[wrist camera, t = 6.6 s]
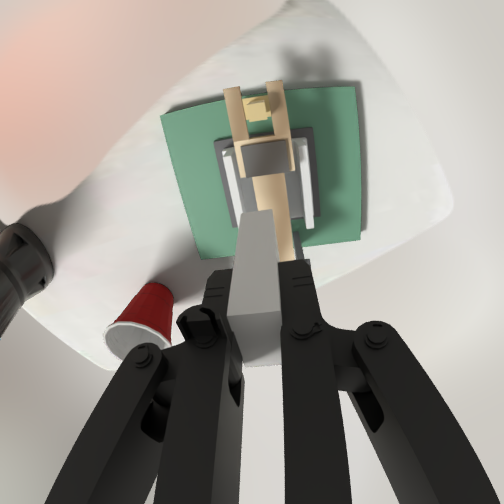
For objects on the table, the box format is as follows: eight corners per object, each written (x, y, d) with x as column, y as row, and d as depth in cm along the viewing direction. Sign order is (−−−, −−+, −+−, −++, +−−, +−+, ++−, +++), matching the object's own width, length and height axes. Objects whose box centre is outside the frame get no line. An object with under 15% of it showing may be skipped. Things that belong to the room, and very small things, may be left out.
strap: (260, 274, 32) (260, 280, 31) (224, 89, 21) (222, 89, 20) (304, 269, 31) (305, 275, 30) (281, 80, 20) (282, 80, 20)
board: (203, 253, 39) (189, 298, 31) (164, 114, 28) (130, 125, 21) (357, 234, 36) (378, 275, 29) (350, 86, 26) (382, 87, 18)
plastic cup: (199, 313, 46) (186, 371, 36) (148, 320, 48) (129, 372, 38) (172, 263, 40) (147, 322, 30) (118, 275, 42) (88, 327, 32)
